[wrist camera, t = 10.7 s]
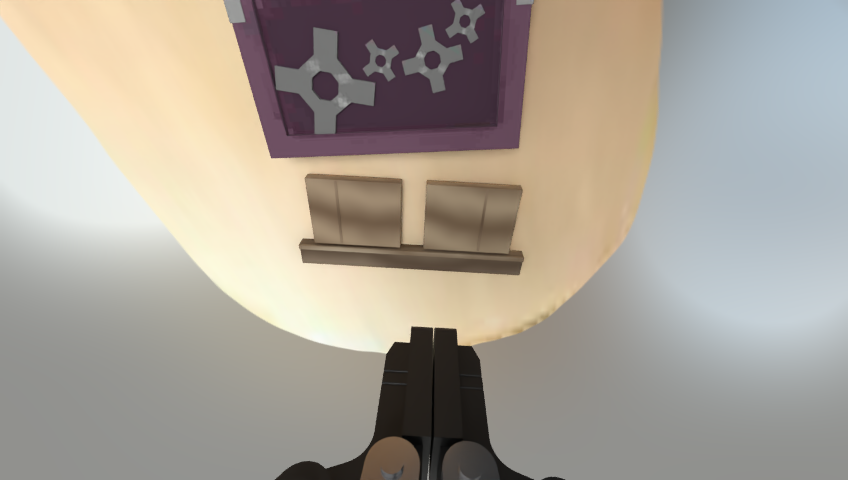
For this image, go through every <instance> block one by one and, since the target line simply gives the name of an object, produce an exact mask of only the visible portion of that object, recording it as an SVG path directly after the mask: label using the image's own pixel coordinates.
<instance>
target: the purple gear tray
mask: <svg viewBox="0 0 848 480" xmlns="http://www.w3.org/2000/svg"><path fill="white" fill-rule="evenodd" d="M533 3H534V0H224V4H225V7H226V11H227V14H228V17H229V21H230V23H232V24H233V28H234V31H235V35H236V38H237V42H238V45H239V48H240V52H241V55H242V59H243V62H244V66H245V69H246V73H247V76H248V80H249V83H250V87H251V90H252V93H253V97H254V100H255V104H256V107H257V111H258V114H259V118H260V121H261V125H262V128H263V132H264V135H265V138H266V142H267V145H268V149H269V152H270V156H271V158H291V157H316V156H340V155H365V154H389V153H414V152H438V151H463V150H487V149H512V148H519V138H520V127H521V116H522V105H523V94H524V83H525V72H526V61H527V50H528V39H529V28H530V17H531V6H532V4H533Z"/></svg>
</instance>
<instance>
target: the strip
mask: <svg viewBox="0 0 848 480" xmlns="http://www.w3.org/2000/svg"><path fill="white" fill-rule="evenodd" d="M299 249H301V255H302V261H303V263H317V264H334V265H351V266H369V267H386V268H403V269H421V270H438V271H455V272H472V273H490V274H507V275H519V274H520V270H521V265H522V262H523V261H524V257H523V254H522V251H510V250H509V254H504V253H486V252H469V251H452V250H434V249H423V245H406V244H400V248H399V247H382V246H365V245H347V244H330V243H315V240H314V239H302V241H301V242H300V244H299Z"/></svg>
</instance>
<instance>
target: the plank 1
mask: <svg viewBox="0 0 848 480" xmlns="http://www.w3.org/2000/svg"><path fill="white" fill-rule="evenodd" d="M401 181H402V179H389V178H372V177H354V176H337V175H319V174H307V176H306V177H305V183H306V189H307V196H308V202H309V208H310V215H311V221H312V227H313V234H314V240H315V243H330V244H347V245H365V246H382V247H399V248H400V244H401Z"/></svg>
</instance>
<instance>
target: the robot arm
mask: <svg viewBox="0 0 848 480" xmlns="http://www.w3.org/2000/svg"><path fill="white" fill-rule="evenodd" d="M429 454H430V460H429ZM429 462H430V463H429ZM428 464H429V480H534V479H531V478H529V477H527V476H524V475H522V474H520V473H517V472H515V471H513V470H511V469H510V468H508V467H507V466H506V465H504V464H503V463H502V462H501V461H500V460H499V458H498V457H497V456H496V454H495V453H494V451H493V449H492V447H491V444H490V439H489V432H488V424H487V416H486V408H485V399H484V391H483V383H482V378H481V367H480V359H479V358H478V356H477V355H476V353H475V351H474V349H473V348H472V346H458V345H457V330H456V329H449V328H435V329H434V340H433V328H429V327H412V328H411V339H410V343H403V342H394V344H393V345H392V347H391V348H390V350H389V351H388V353H387V354H386V360H385V367H384V373H383V380H382V386H381V393H380V399H379V406H378V413H377V420H376V426H375V432H374V436H373V439H372V441H371V443H370V445H369V446H368V448H367V449H366V450H365V451H364V452H363V453H362V454H361V455H360V456H358V457H357V458H355V459H353V460H351V461H349V462H346V463H343V464H340V465H337V466H333V467H330V468H327V469H325V468H324V467H323V466H322V465H320V464H319V463H316V462H311V461H304V462H300V463H297V464H294V465H292V466H291V467H289V468H288V469H286V470H285V471H284V472H283V473H282V474H281V475H280V476H279V477H277V478H276V479H275V480H427V473H428ZM542 480H565V479H562V478H557V477H548V478H545V479H542Z"/></svg>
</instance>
